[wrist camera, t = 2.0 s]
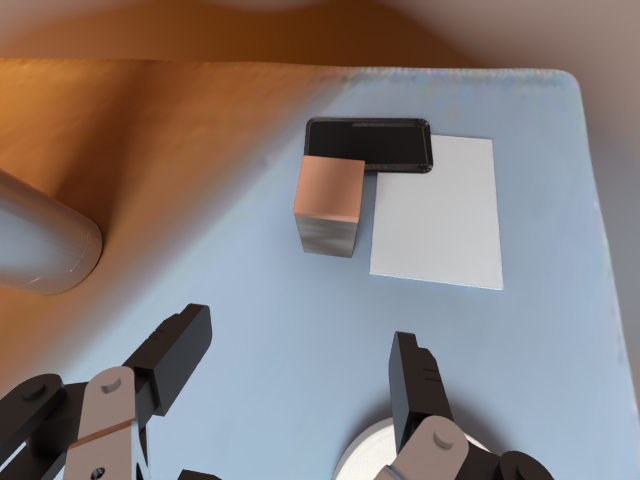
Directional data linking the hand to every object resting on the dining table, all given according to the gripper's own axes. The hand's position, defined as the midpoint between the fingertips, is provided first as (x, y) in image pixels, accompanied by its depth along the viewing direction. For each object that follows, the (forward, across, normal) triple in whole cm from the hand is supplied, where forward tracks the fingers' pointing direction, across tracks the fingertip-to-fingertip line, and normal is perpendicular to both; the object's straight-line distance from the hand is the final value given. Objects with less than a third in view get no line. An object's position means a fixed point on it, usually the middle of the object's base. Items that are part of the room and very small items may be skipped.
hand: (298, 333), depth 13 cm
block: (+20, 0, +4) cm, 21 cm away
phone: (+29, -3, -4) cm, 29 cm away
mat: (+24, -11, 0) cm, 26 cm away
